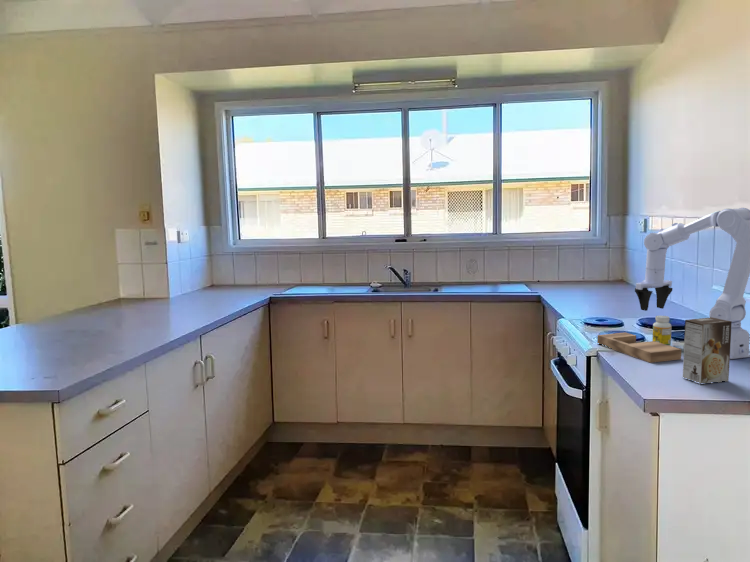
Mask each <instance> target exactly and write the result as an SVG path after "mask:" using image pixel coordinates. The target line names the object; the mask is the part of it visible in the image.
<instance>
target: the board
mask: <svg viewBox="0 0 750 562" xmlns="http://www.w3.org/2000/svg"><path fill="white" fill-rule="evenodd" d="M596 340H597V343H599V344H603V345H606V346H608V347H610V348H612V349H611V350H613V351H616V352H619V353H621V354H625V355H627V356H630V357H634V358H636V359H638V360H641V361H644V362H647V363H650V364H652V363H661V362H669V361H675V360H676V361H677V360H679V361H680V360H682V348H678V347H675V346H672V345H671V346H669V345H665V344H662V343H659V342H656V341H641V342H637V335H636V334H632V333H628V332H626V331H625V332H615V333H607V334H606V333H605V334H598V335H597V339H596ZM599 344H598V345H599ZM610 348H609V349H610Z"/></svg>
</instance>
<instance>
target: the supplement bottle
mask: <svg viewBox="0 0 750 562" xmlns="http://www.w3.org/2000/svg"><path fill="white" fill-rule="evenodd" d="M651 340H652V341H656V342H659V343H662V344H665V345H669V346H672V343H671V342H672V324H671V323H670V317H669V316H668V315H656V316H655V322H653V324H652V339H651Z"/></svg>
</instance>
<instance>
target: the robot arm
mask: <svg viewBox="0 0 750 562" xmlns="http://www.w3.org/2000/svg"><path fill="white" fill-rule="evenodd" d="M712 227H714V228H718V227H719V228H720V229H721V230H723V231H724V232H726V233H727V234H729V235H730V236H731V237H732V238H733V240H735V242H736V245H735V247H734V252H733V255H732V259H731V263H730V265H729V270H728V273H727V276H726V280H725V283H724V287H723V290H722V293H721V294H720V295H719V296H718V297H717V299H716V301H715V304H714V305H713V306H712V308H711V309H710V311H709V313H708V314H709V318H711V317H713V318H717V319H722V320H727V321H732V323H731V343H730V360H735V359H742V358H743V359H744V358H750V354H749V353H750V333H749V331H747V329H744V328H743V327H742V321H743V320H744V319H745V318H746V314H747V312H746V308H745V307H746V303H747V302H746V301H747V300H746V299H745V297H744V295H745V291H746V287H747V284H748V282H749V281H748V280H749V277H750V209H749V208H746V207H739V208H724V209H722V210H718V211H714V212H712V213H709V214H706V215H704V216H702V217H700V218H698V219H696V220H694V221H691V222H689V223H687V224H684V223H681V222H679V223H678V222H674V223H672V224H671V226H669V227H667V228H661V229H658V232H650V233H649V234H647V235H646V236H645V237H644V239H643V245H644V248H646V261H645V276H644V280H642V281H640V282H636V283H635V288H634V292H635V293H636V296H637V298H638V301H639V306H640V310H642V311H645V312H646V311H648V309H649V304H650V300H651V296H652V294H653V292H654V291H652V290H649V289H654V290H655V294H656V296H655V297H656V308H658V309H661V310H662V309H663V310H664V308H665V305H666V302H667V300H668V297H669V296H670V294H671V293H672V292H673V287H672V284H673V281H672V280H667V279H665V271H666V269H665V268H666V258H667V255H666V254H667V250H668V249H669V248H670V247H672V246H674V245H677V244H679V243H680V244H681V242H685V241H687V240H688V239H689V238H690V236H691V235H692V234H695V233H697V232H700V231H703V230H706V229H708V228H709V229H710V228H712Z"/></svg>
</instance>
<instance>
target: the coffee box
mask: <svg viewBox="0 0 750 562" xmlns="http://www.w3.org/2000/svg"><path fill="white" fill-rule="evenodd" d="M731 323H732V321H727V320H722V319H717V318H713V317H711V318H710V317H702V318H700V317H699V318H691V319H690V318H689V319H685V320H684V341H683V342H684V343H683V363H682V365H683V366H682V378H683V377H684V378H687V379H690V380H693V381H696V382H699V383H711V382H718V383H723V382H722V381H725V382H729V381H730V380H729V379H730V378H729V375H730V360H731V359H730V343H731ZM711 384H712V383H711Z"/></svg>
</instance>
